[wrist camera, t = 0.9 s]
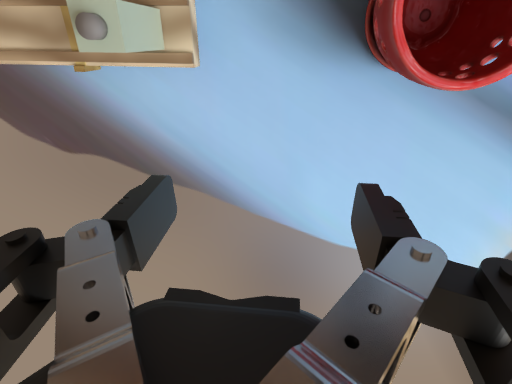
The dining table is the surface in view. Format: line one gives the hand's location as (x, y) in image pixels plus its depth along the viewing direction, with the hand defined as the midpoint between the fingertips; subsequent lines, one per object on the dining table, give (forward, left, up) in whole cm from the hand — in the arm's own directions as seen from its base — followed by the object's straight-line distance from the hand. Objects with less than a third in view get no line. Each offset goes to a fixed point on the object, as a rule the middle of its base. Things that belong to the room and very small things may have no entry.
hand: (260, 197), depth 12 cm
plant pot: (-9, +15, -28) cm, 33 cm away
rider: (-7, -14, -21) cm, 27 cm away
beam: (-7, -22, -28) cm, 36 cm away
